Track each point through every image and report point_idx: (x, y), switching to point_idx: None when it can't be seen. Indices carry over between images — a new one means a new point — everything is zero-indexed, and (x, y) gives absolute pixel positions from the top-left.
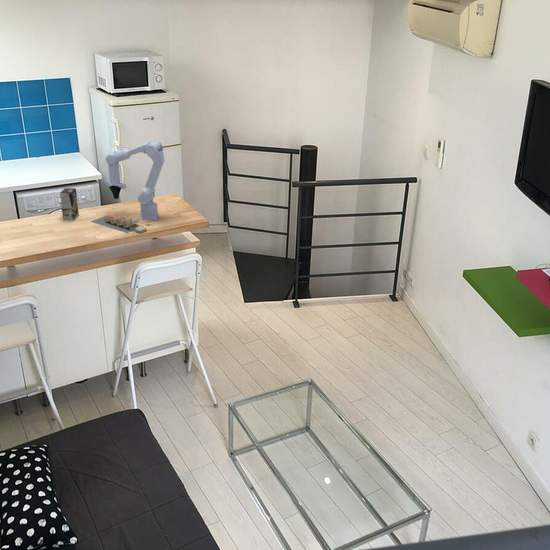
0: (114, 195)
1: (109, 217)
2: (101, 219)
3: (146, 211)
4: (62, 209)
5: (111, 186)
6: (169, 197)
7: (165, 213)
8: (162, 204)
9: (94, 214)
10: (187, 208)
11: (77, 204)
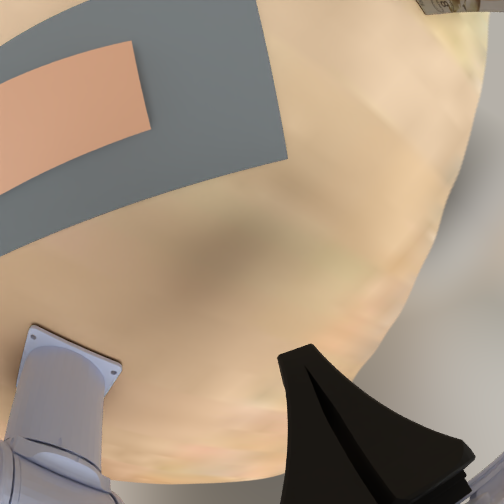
0: (311, 389)
1: (19, 76)
2: (220, 58)
3: (13, 402)
4: None
5: (444, 483)
6: (279, 468)
7: (106, 437)
8: (229, 453)
9: (382, 99)
10: (131, 480)
11: (495, 3)
